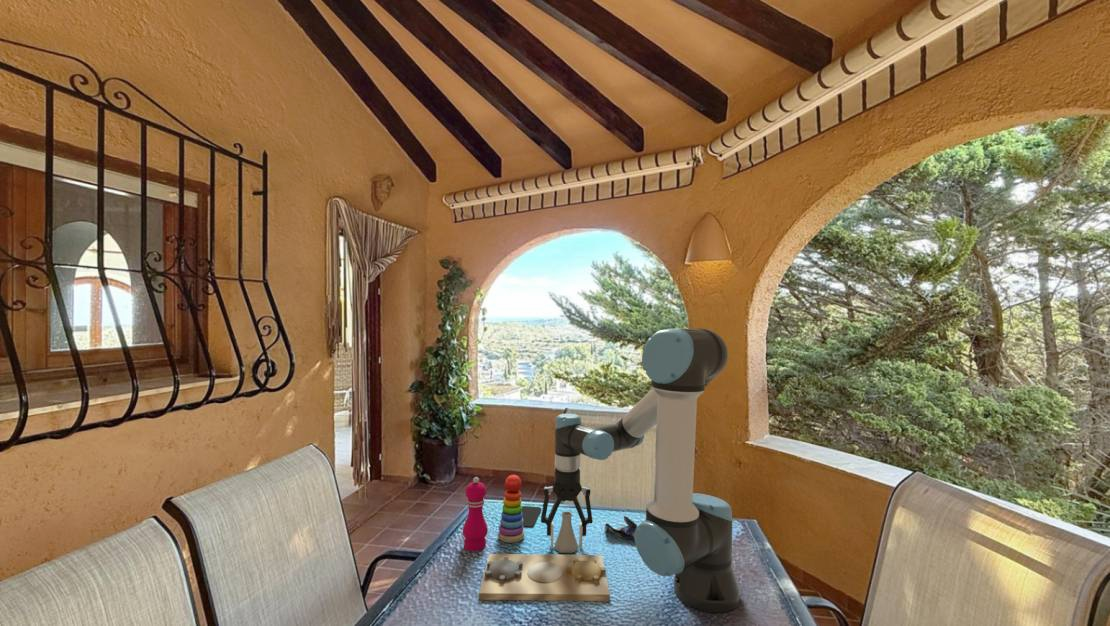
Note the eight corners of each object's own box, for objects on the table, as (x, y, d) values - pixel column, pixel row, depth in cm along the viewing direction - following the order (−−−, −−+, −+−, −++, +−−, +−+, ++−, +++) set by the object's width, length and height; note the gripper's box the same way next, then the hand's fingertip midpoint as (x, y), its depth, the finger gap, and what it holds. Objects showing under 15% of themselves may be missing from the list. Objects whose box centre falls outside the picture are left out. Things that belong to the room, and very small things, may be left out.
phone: (510, 524, 146) (521, 505, 161) (510, 527, 146) (521, 508, 161) (533, 526, 145) (542, 507, 159) (533, 529, 145) (542, 509, 159)
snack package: (622, 524, 149) (597, 534, 141) (625, 505, 149) (601, 514, 141) (651, 544, 140) (627, 555, 132) (655, 524, 140) (630, 535, 132)
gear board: (601, 560, 125) (601, 550, 125) (609, 601, 107) (609, 589, 107) (489, 559, 125) (489, 549, 125) (478, 599, 107) (478, 588, 107)
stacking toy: (520, 545, 133) (521, 481, 133) (494, 542, 135) (495, 479, 135) (527, 533, 141) (528, 472, 141) (502, 530, 142) (503, 470, 143)
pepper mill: (490, 549, 130) (491, 479, 131) (464, 554, 128) (466, 482, 128) (484, 538, 137) (485, 471, 137) (460, 542, 134) (461, 474, 135)
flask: (550, 543, 135) (551, 509, 135) (573, 540, 137) (574, 507, 137) (558, 555, 128) (558, 520, 128) (582, 552, 130) (582, 517, 130)
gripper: (601, 464, 137) (600, 540, 136) (532, 463, 136) (531, 539, 136) (603, 472, 129) (602, 553, 129) (531, 471, 129) (530, 552, 129)
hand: (566, 546), depth 132 cm, fingers open, 8 cm apart
